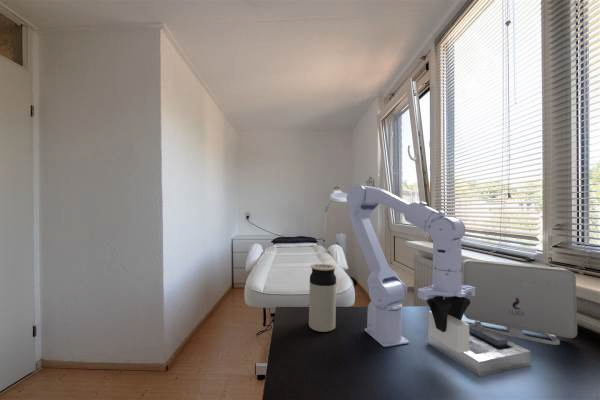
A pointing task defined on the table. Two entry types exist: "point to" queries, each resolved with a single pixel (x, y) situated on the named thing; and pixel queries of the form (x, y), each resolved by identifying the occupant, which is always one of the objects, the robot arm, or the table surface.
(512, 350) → the rack
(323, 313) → the travel mug
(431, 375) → the table surface
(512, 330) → the network device
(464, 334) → the rectangular block
